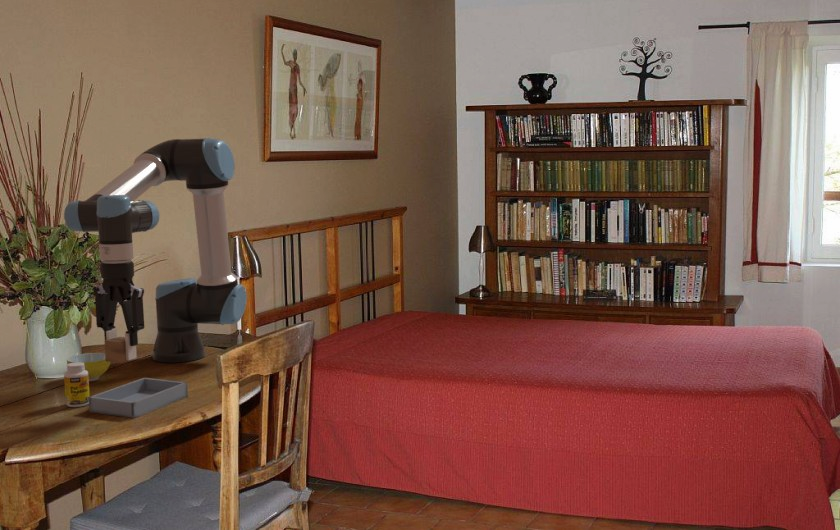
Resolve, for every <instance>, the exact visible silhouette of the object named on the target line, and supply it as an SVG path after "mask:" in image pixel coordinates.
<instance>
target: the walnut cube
mask: <svg viewBox="0 0 840 530" xmlns="http://www.w3.org/2000/svg"><path fill="white" fill-rule="evenodd" d="M104 353H105V359H106V361H107V362H110V363H118V364H124V363H127V362H130V361H135V360H137V359H138V358H135V359H132V360H126V344H125V336H117V338H113V339H109V340H105V339H104ZM136 354H138V352H136Z"/></svg>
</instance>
